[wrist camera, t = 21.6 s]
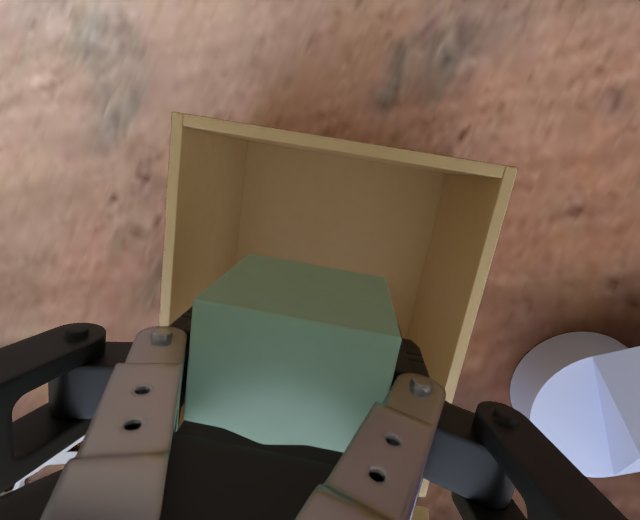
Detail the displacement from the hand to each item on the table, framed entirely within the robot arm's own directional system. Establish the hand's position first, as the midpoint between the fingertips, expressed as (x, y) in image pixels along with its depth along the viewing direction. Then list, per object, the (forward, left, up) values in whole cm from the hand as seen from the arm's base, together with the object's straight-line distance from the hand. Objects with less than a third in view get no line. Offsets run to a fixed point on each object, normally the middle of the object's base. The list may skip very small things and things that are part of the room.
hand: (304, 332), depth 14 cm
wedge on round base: (+6, +21, -14) cm, 26 cm away
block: (0, 0, 0) cm, 0 cm away
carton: (+1, 0, -14) cm, 14 cm away
